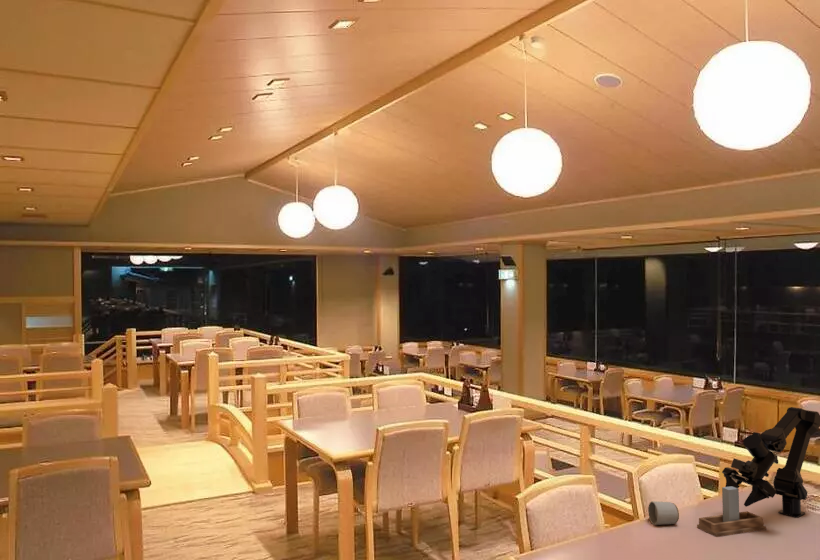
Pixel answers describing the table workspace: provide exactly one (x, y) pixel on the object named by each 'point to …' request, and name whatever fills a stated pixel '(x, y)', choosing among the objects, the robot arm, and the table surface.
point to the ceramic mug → (663, 513)
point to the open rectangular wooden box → (731, 524)
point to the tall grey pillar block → (730, 503)
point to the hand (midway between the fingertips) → (734, 501)
